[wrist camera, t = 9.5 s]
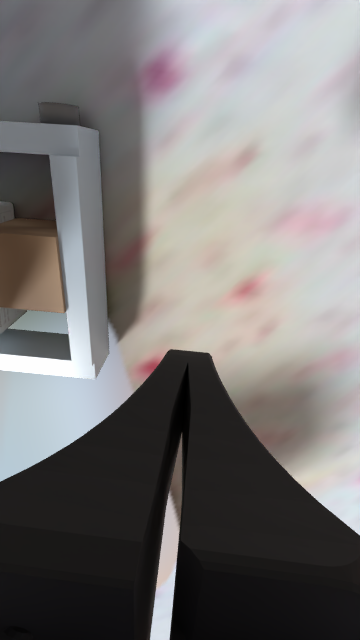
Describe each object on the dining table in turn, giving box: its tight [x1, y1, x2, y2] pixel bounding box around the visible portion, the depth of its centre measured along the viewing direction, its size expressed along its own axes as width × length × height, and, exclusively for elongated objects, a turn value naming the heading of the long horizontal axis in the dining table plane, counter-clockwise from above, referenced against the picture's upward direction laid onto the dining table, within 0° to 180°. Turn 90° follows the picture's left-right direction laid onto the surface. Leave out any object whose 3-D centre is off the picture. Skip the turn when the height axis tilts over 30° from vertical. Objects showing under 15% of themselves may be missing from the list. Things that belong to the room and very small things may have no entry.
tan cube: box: [0, 218, 66, 313], centre depth 18 cm, size 4×4×4 cm
